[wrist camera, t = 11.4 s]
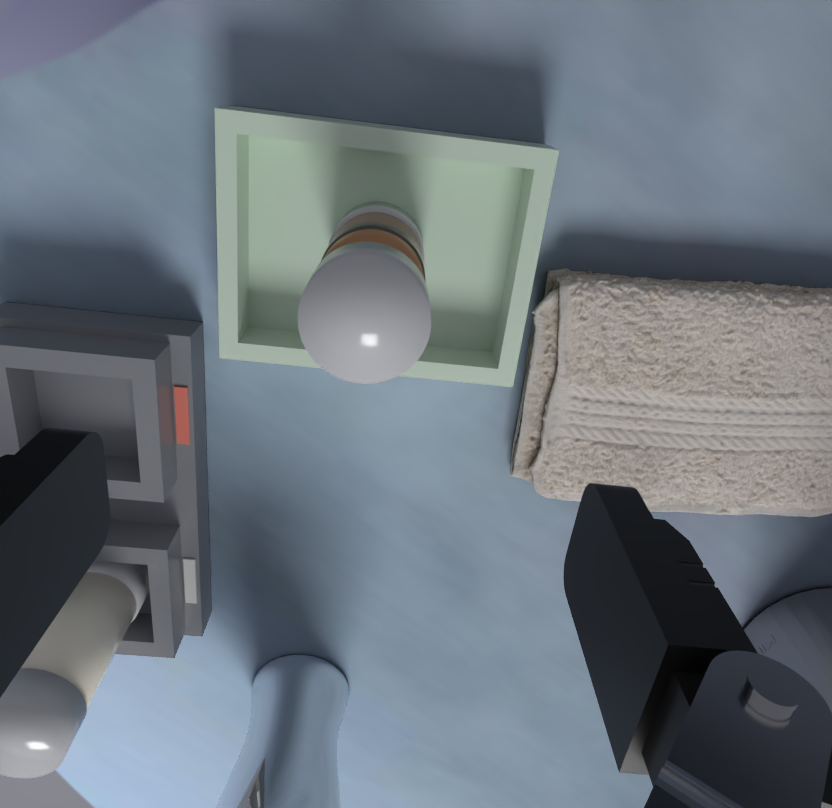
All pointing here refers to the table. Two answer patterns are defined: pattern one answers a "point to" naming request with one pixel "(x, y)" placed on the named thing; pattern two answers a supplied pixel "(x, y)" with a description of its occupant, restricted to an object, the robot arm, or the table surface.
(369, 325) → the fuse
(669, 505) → the washcloth
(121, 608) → the fuse
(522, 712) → the table surface
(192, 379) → the fuse block
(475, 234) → the parts tray
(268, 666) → the beer glass
